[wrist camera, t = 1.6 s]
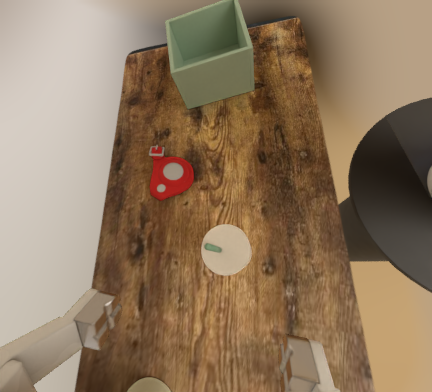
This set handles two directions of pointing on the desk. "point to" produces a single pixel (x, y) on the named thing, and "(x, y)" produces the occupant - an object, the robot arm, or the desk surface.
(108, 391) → the desk surface
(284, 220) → the desk surface
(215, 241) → the paper cup
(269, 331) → the desk surface
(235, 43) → the bin
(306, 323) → the desk surface
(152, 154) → the red flat rounded piece
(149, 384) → the can
